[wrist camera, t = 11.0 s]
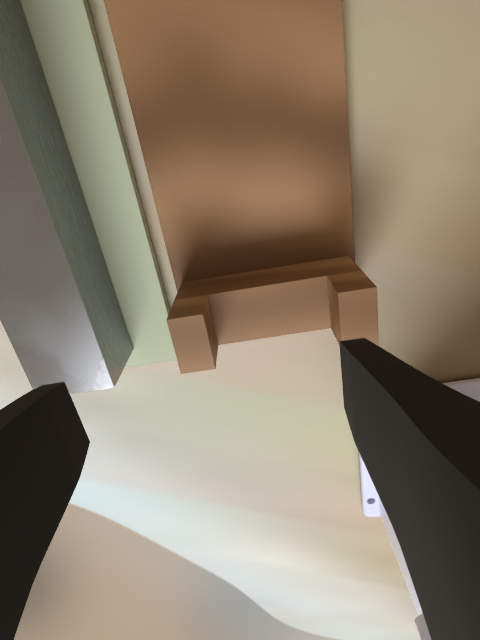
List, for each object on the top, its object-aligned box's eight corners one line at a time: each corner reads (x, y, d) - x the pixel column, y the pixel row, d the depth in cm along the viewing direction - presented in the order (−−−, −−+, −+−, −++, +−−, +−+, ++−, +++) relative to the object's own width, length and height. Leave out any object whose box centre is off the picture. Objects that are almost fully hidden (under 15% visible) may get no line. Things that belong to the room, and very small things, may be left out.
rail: (133, 348, 20) (113, 387, 17) (69, 358, 21) (37, 398, 17) (-22, -129, 13) (-108, -216, 10) (-120, -104, 13) (-235, -181, 10)
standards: (353, 311, 20) (386, 361, 15) (192, 335, 21) (178, 391, 16) (325, -198, 13) (373, -387, 8) (75, -136, 13) (-12, -279, 9)
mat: (181, 354, 21) (180, 360, 21) (39, 375, 22) (34, 381, 21) (41, -172, 13) (32, -186, 12) (-181, -116, 13) (-199, -126, 13)
